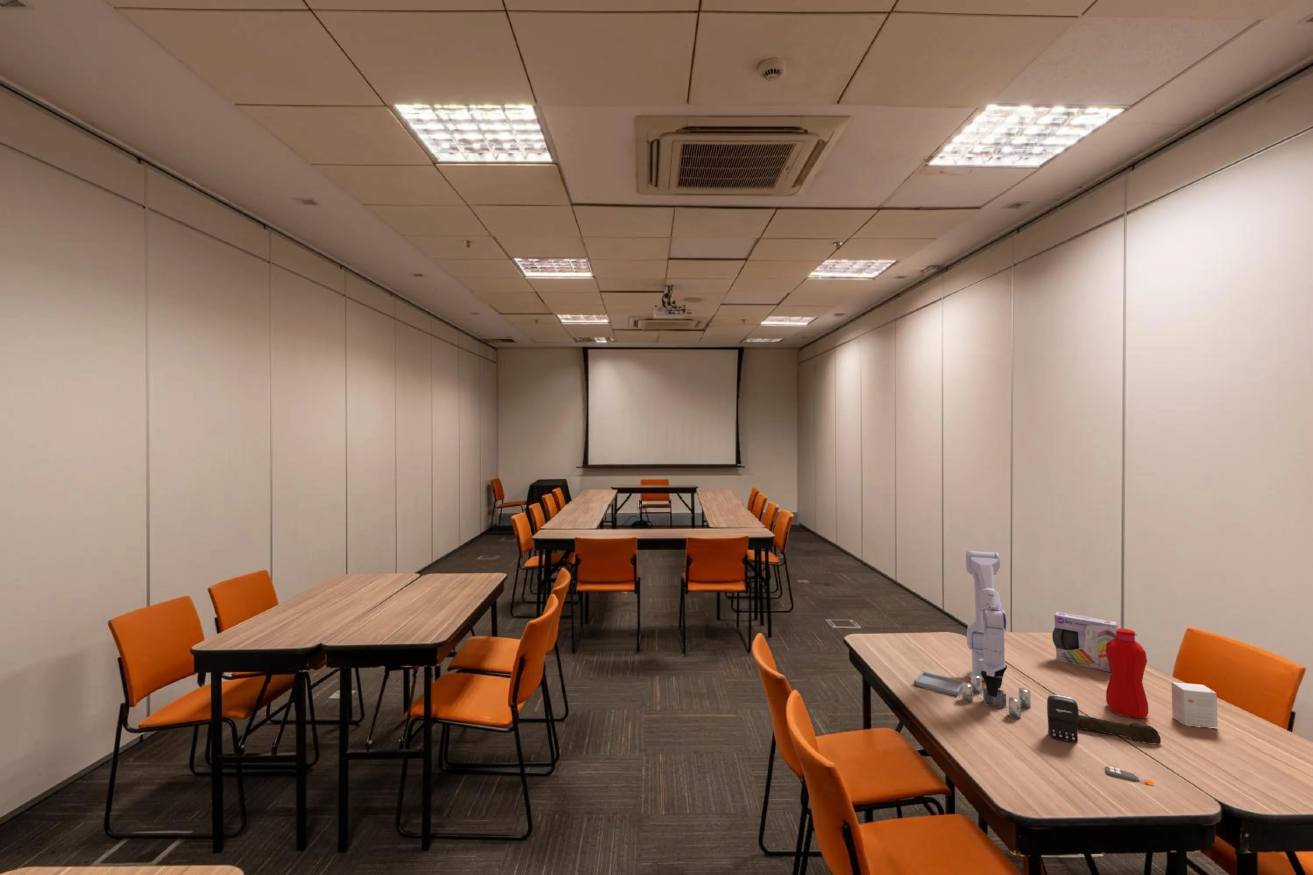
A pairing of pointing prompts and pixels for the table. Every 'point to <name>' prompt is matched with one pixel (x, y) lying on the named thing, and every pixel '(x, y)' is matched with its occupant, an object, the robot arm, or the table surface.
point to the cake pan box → (1082, 640)
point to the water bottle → (1126, 675)
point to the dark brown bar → (1121, 729)
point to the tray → (939, 683)
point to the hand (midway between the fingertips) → (994, 691)
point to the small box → (1194, 705)
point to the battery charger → (1062, 718)
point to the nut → (995, 699)
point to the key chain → (1124, 775)
